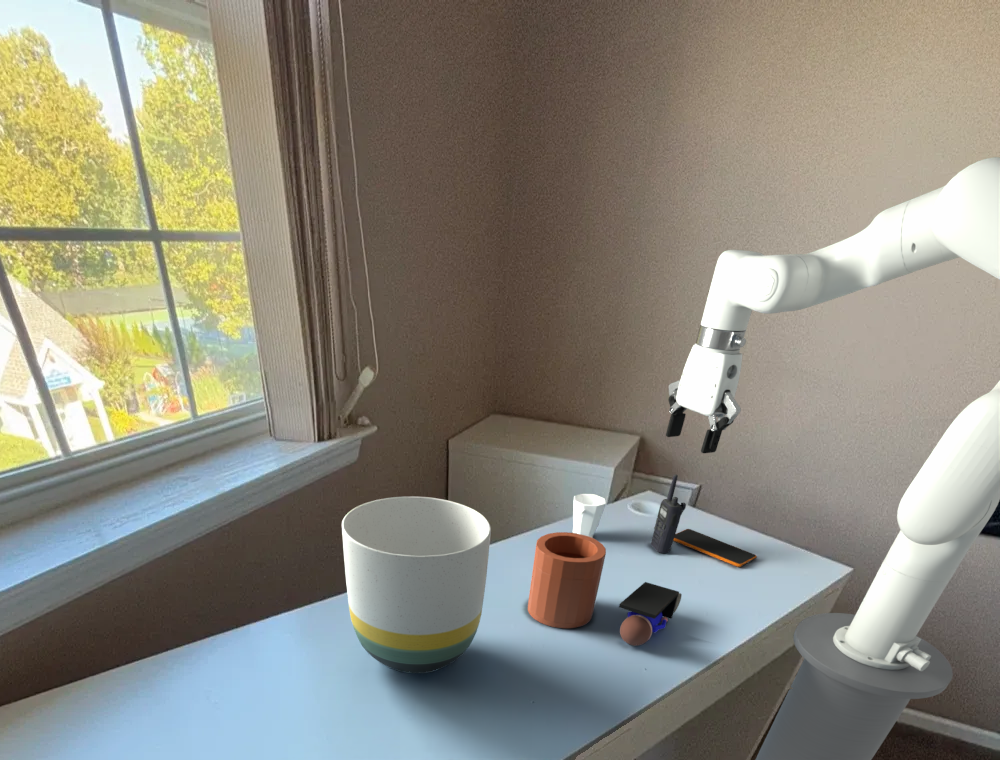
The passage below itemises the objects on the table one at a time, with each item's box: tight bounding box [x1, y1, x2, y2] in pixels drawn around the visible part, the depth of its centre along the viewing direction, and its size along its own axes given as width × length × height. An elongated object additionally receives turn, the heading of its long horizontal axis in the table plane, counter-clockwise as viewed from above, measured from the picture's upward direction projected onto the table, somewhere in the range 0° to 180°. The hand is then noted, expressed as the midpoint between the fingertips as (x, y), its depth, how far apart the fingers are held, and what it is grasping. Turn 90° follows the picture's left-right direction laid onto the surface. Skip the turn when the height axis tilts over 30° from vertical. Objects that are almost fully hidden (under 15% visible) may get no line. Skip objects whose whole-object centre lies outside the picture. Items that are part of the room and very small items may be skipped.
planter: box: [341, 496, 492, 674], centre depth 90 cm, size 20×20×21 cm
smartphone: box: [673, 528, 758, 568], centre depth 133 cm, size 8×17×1 cm, turn 43°
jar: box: [527, 531, 607, 629], centre depth 106 cm, size 11×11×12 cm
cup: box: [571, 493, 607, 539], centre depth 132 cm, size 7×10×8 cm
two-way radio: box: [650, 474, 687, 554], centre depth 128 cm, size 6×4×15 cm
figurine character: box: [618, 581, 682, 647], centre depth 105 cm, size 7×8×15 cm
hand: (689, 444), depth 120 cm, fingers open, 9 cm apart
